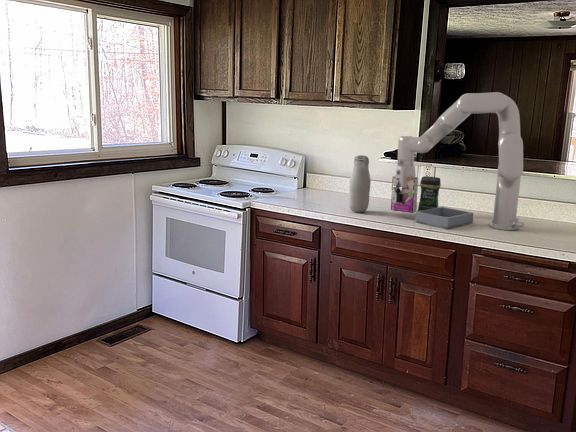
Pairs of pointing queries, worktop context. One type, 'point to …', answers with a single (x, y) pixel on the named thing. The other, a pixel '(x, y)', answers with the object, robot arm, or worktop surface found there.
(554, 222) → the worktop surface
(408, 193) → the candy bar box
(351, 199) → the grey bottle
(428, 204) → the coffee jar
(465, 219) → the tray
